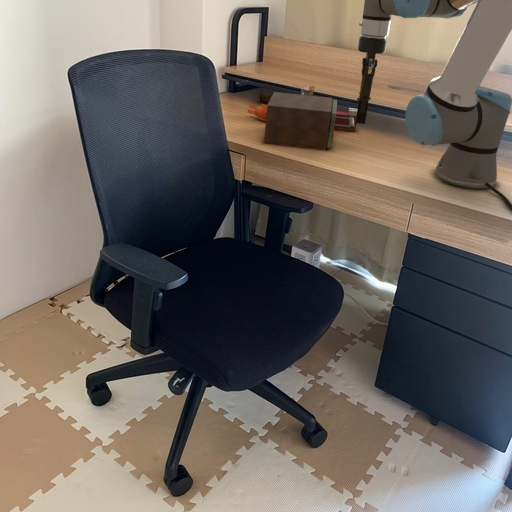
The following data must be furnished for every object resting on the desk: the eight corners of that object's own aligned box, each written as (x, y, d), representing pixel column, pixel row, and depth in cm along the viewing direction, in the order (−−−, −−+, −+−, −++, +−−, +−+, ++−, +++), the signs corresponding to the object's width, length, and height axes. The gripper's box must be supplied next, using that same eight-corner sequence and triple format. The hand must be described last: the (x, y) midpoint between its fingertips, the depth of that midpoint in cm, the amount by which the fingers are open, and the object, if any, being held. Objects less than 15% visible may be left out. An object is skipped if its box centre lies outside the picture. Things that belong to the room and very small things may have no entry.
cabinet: (327, 133, 166) (332, 97, 160) (325, 150, 151) (331, 111, 145) (271, 126, 167) (274, 91, 162) (264, 143, 153) (267, 105, 147)
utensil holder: (307, 117, 180) (311, 81, 174) (316, 122, 175) (320, 85, 169) (291, 117, 178) (295, 81, 172) (300, 123, 173) (304, 86, 167)
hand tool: (258, 103, 192) (259, 90, 190) (266, 101, 195) (267, 89, 192) (291, 116, 180) (293, 102, 178) (300, 115, 182) (302, 101, 180)
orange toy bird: (246, 99, 172) (276, 107, 166) (259, 103, 178) (288, 110, 173) (243, 114, 173) (272, 122, 168) (255, 118, 180) (284, 126, 174)
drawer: (350, 133, 164) (356, 101, 159) (351, 150, 150) (357, 116, 145) (275, 125, 167) (278, 93, 162) (269, 141, 152) (271, 107, 147)
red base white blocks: (355, 128, 172) (358, 108, 169) (355, 131, 169) (358, 111, 166) (333, 126, 172) (336, 106, 169) (333, 129, 170) (336, 109, 166)
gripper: (359, 32, 148) (347, 116, 160) (360, 38, 137) (347, 127, 148) (385, 35, 147) (372, 118, 159) (389, 40, 136) (374, 130, 148)
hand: (360, 122), depth 154 cm, fingers closed
